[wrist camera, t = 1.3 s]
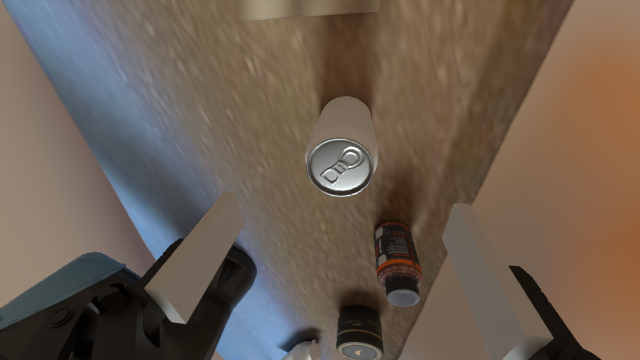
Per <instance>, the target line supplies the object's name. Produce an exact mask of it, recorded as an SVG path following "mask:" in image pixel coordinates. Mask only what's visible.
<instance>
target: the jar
mask: <svg viewBox="0 0 640 360" xmlns="http://www.w3.org/2000/svg"><path fill="white" fill-rule="evenodd" d="M336 341H337V343H336V348H337V351H338V353H339V354H340V355H341V356H343V357H345V358H347V359H349V360H379V359H381V358H382V356H383V353H384V350H383V340H382V329H381V322H380V319H379V316H378V315H377V314H376V312H375V311H373V310H372V309H370V308H367V307H364V306H350V307H347V308H345V309H343V310H342V311H341V313H340V316H339V319H338V330H337V337H336Z"/></svg>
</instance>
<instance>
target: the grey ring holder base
mask: <svg viewBox="0 0 640 360" xmlns="http://www.w3.org/2000/svg"><path fill="white" fill-rule="evenodd" d="M233 2H234V7H235V12H236V17H237V20H240V21H247V20H263V19H279V18H295V17H311V16H326V15H342V14H358V13H374V12H379V6H380V0H233Z"/></svg>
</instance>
